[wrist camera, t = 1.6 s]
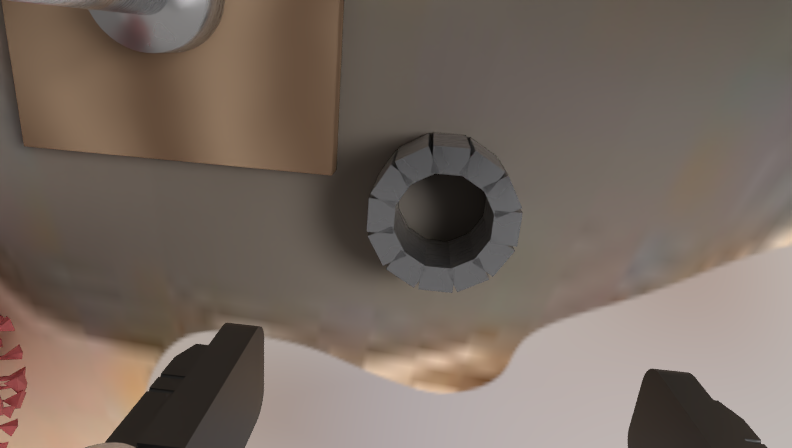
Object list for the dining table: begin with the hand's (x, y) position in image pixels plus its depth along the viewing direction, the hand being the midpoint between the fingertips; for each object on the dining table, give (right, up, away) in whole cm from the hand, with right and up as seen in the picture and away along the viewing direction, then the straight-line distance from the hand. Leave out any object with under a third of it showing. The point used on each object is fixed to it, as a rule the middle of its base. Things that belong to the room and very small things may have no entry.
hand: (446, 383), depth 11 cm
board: (-10, +13, +11) cm, 20 cm away
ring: (+1, +4, +13) cm, 14 cm away
